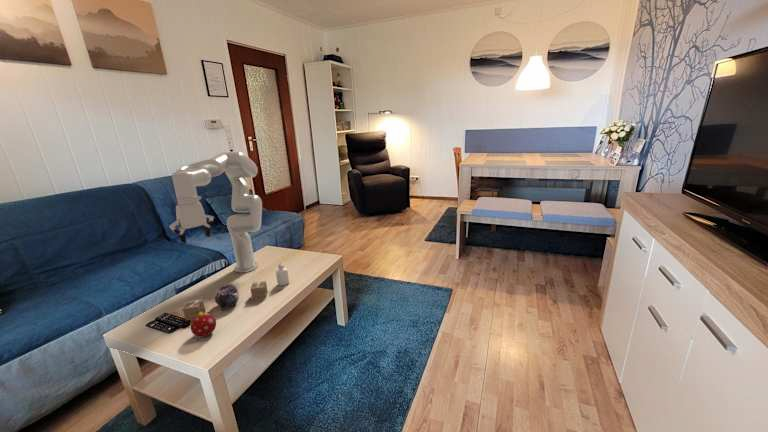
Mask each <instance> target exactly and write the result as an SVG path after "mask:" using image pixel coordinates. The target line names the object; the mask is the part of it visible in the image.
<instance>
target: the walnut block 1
mask: <svg viewBox="0 0 768 432" xmlns="http://www.w3.org/2000/svg"><path fill="white" fill-rule="evenodd" d="M250 293H251V294H250V295H251V300H252V301H257V300H263V299H264V300H265V299H267V297H268V286H267V280H264V281H258V282H257V281H256V282H252V284H251V287H250Z"/></svg>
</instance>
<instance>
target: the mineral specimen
mask: <svg viewBox="0 0 768 432" xmlns="http://www.w3.org/2000/svg"><path fill="white" fill-rule="evenodd" d="M239 296H240V293H239V290H238V289H237V287H236V286H235V285H234V284H232V283H231V284H228V285H224V286H221V287H218V289H217V290H216V292H215V294H214V302H215V303H216V304H217V306H218V307H219V308H220V309H221V310H225V309H227V308H229V307H232V306H235V305H236V304H237V303H238V301H239V298H240V297H239Z"/></svg>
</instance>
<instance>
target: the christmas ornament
mask: <svg viewBox="0 0 768 432" xmlns="http://www.w3.org/2000/svg"><path fill="white" fill-rule="evenodd" d="M216 325H217V320H216V318H215V316H213V315H212V314H211V313H207V312H205V313H202V312H199V315H198V316H196V317H195V318H194V319H193V320H191V322H190V331H191V333H192V334H193V335H194V336H196V337H197V338H198V337H199V338H200V337H201V338H202V337H203V338H205V337H207V336H209V335H211V334H212V333H213V332H214V331H215V329H216Z"/></svg>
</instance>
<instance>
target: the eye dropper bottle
mask: <svg viewBox="0 0 768 432" xmlns="http://www.w3.org/2000/svg"><path fill="white" fill-rule="evenodd" d="M275 276H276V284H277V286H279V287H280V286H281V287H282V286H286V285H288V284H290V280H289V279H290V278H289V271H288V269H287V268H286V267H285V268H284V264H283V263H282V262H281V261H279V264H278V267H277V269H276V270H275Z"/></svg>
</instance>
